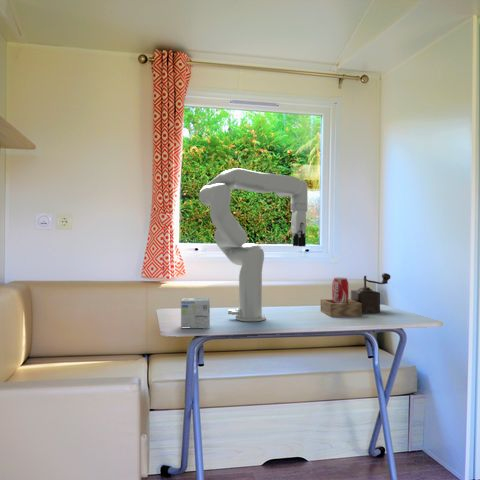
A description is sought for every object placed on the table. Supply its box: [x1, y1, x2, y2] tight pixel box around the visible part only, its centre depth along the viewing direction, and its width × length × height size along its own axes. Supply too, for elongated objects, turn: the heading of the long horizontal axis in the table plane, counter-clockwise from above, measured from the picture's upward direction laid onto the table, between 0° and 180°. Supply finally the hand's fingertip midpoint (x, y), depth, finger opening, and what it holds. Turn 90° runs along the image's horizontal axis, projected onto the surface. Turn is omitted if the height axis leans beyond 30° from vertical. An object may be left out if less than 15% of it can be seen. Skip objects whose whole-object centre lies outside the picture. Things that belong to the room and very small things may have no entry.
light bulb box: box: [180, 297, 211, 329], centre depth 158 cm, size 11×7×11 cm, turn 93°
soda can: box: [331, 277, 349, 303], centre depth 186 cm, size 7×7×12 cm
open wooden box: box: [320, 298, 363, 318], centre depth 187 cm, size 14×14×6 cm
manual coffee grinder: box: [350, 272, 391, 314], centre depth 192 cm, size 16×11×18 cm
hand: (299, 246), depth 188 cm, fingers open, 9 cm apart
